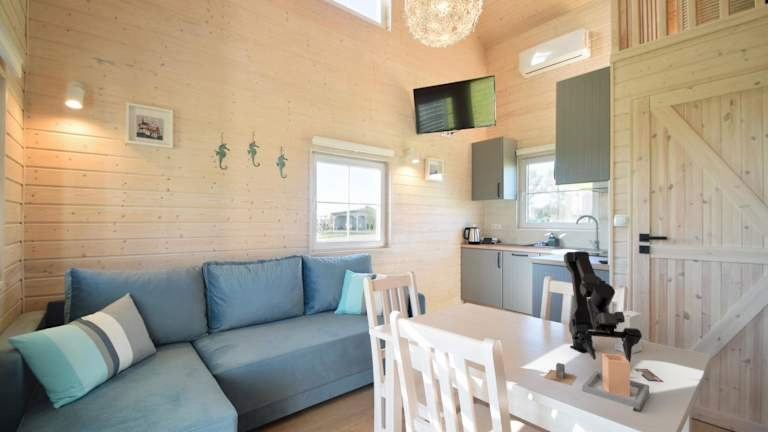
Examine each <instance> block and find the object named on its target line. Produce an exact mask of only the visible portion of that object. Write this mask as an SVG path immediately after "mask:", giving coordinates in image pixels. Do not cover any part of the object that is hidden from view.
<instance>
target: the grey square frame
mask: <svg viewBox="0 0 768 432" xmlns="http://www.w3.org/2000/svg"><path fill="white" fill-rule="evenodd" d="M598 379H601V380H602V372H600V371H597V370H595V371H594V373H592V374H591V376H589V378H588V379H587V380H586V381H585V382H584V383H583V385H581V391H582V392H584V393H586V394H590V395H594V396H597V397H600V398H602V399H606V400H609V401H613V402H617V403H619V404H622V405H625V406H628V407H632V411H635V412H636V413H641V411H642V409H643V407H644V405H645V404H646V401H647V400H648V398H649V395H650V385H649V384H646V383H642V382H639V381H635V380H632V379H630V388H634V389H637V393H636V396H635V399H632V398H629V397H627V396H620V395H616V394H612V393H609V392H607V391H606V390H601V389H599V388H595V387H593V385H594V384H595V383H596V381H597V380H598Z"/></svg>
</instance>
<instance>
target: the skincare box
mask: <svg viewBox="0 0 768 432" xmlns="http://www.w3.org/2000/svg"><path fill="white" fill-rule="evenodd" d="M620 312H623V315H624V318H625V322H623V323H619V325H616V326H617V328H616V329H614V331H618V332H623V330H624V328H637V329H639V330H640V331H641V334H642V335H643V321H642V320H643V314H642V313H641V312H638V311H633V310H630V309H626V310H621V311H620ZM622 344H623V341H622V339H621V338H614V350H616V351H617V352H621V353H624V354H625V352H624V349H623V345H622ZM641 351H643V336H642V337H641V339H640V341H639V342H638V344H634V346H632V350H631V355H632V354H636V353H639V352H641Z"/></svg>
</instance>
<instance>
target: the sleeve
mask: <svg viewBox="0 0 768 432" xmlns="http://www.w3.org/2000/svg"><path fill="white" fill-rule="evenodd" d="M601 355H602V356H601V361H602V363H601V367H602V379H601V380H602V387H603V389H605V390H604V391H606V392H609V393H612V394H616V395H619V396H623V397H628V398H629V397H631V387H630V380H631V377H630V376H631V372H630V371H631V369H630V368H631V367H630V366H631V364H630V363H631V361H630V362H629V361H628V360H627V359H626V356H625V355H622V354H613V353H602V354H601Z"/></svg>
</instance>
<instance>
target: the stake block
mask: <svg viewBox="0 0 768 432" xmlns="http://www.w3.org/2000/svg"><path fill="white" fill-rule="evenodd" d="M565 367H566V366H565V364H564V363H559V362H557V363H556V364H555V370H554V369H549V371H548V372H547V373H546V375H545V376H544V377H543V378H544V379H545V380H546V379H547V380H550V381H553V382H557V383H562V384H565V385H569V386H572V384H573V383H574V382H575V380H576V379H577V376H578V375H576V374H575V375H574V374H572V373H571V374H570V373H566V372H565V370H566V369H565Z"/></svg>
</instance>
